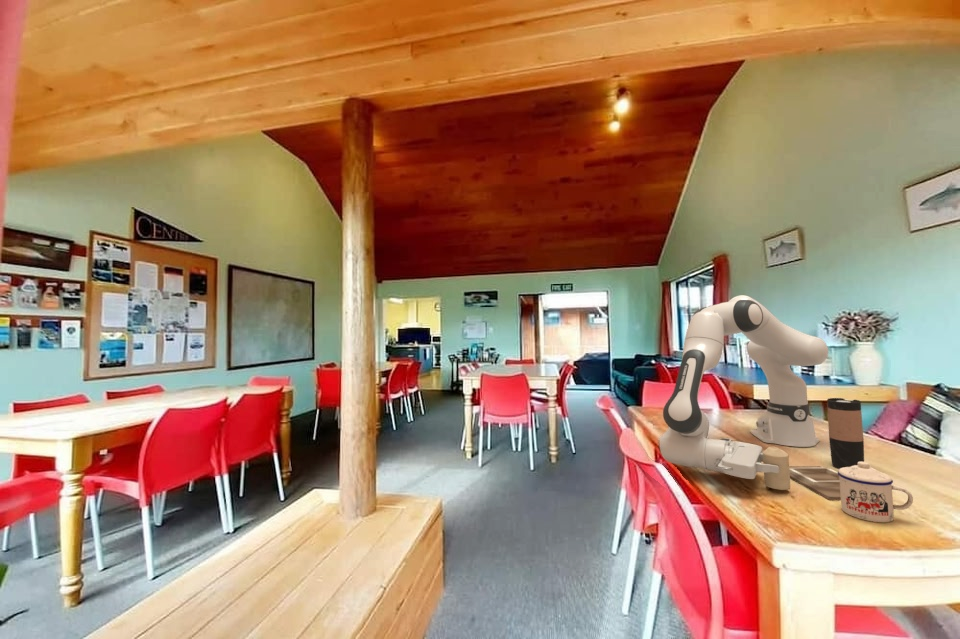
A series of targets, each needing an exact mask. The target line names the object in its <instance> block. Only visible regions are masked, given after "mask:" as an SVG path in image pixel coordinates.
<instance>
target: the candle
mask: <svg viewBox="0 0 960 639" xmlns="http://www.w3.org/2000/svg"><path fill="white" fill-rule="evenodd" d="M762 464H776V465H779V473H773V472H766V473H763V480H764V485H765V486H766V487H767V488H771V489H774V490H778V491H786V490H787V491H788V490H790V489H791V479H790V472H789V466H790V459H789V454H788V452H786V451H784V450H783V449H781V448H780V447H776V446H768V447H767V448H766V449H764V450H763V462H762Z"/></svg>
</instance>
